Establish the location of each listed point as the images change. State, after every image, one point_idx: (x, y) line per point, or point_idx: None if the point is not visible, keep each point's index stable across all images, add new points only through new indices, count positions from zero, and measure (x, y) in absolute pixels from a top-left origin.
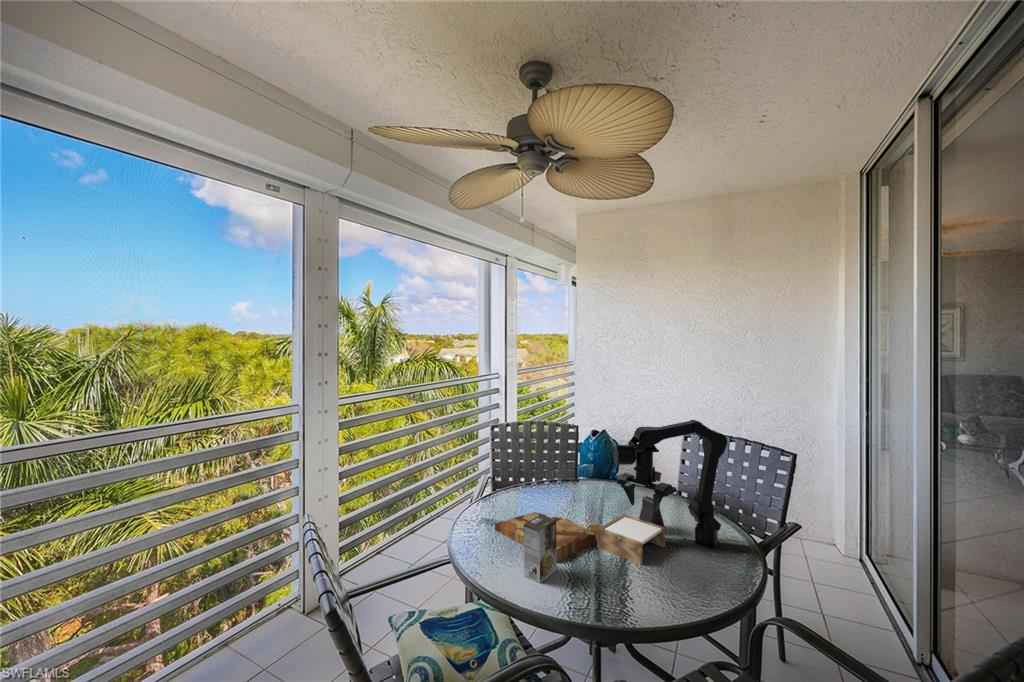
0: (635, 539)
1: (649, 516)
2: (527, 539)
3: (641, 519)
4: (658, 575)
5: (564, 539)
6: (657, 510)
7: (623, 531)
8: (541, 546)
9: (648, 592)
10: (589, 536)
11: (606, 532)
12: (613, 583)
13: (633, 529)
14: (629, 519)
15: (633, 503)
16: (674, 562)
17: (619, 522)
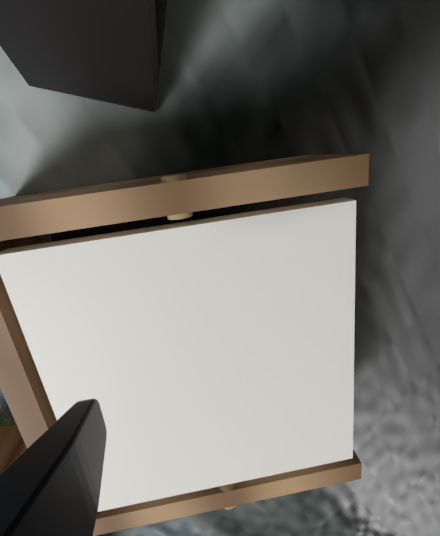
0: (310, 464)
1: (105, 6)
2: None
3: (23, 32)
4: (400, 399)
5: None
6: None
7: (195, 451)
8: None
9: (415, 487)
10: None
11: (137, 525)
12: (314, 531)
13: (217, 381)
14: (62, 270)
15: (96, 438)
16: (412, 271)
17: (64, 378)
